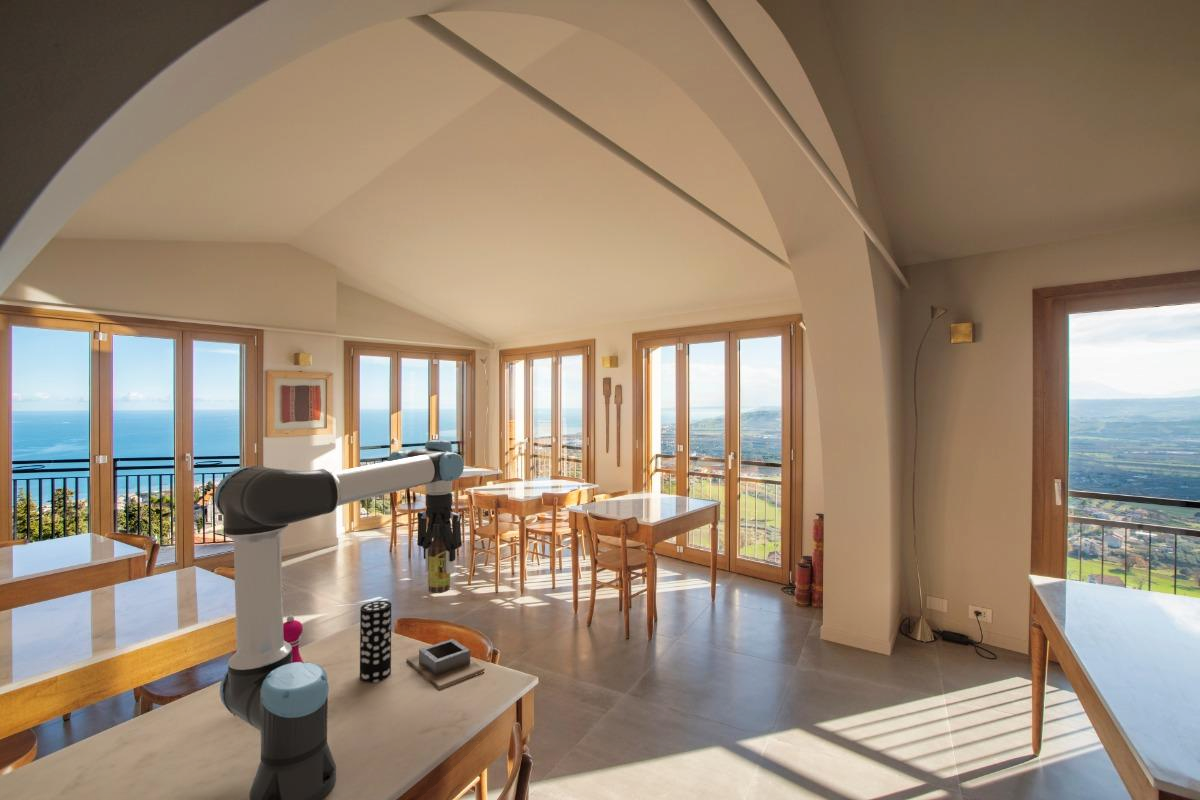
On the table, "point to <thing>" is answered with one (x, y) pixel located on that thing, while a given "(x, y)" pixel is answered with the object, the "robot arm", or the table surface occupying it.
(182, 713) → the table surface
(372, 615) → the spotted tube
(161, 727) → the table surface
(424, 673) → the caddy board
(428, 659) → the bottle socket
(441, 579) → the sauce bottle
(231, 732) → the table surface
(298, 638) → the pepper mill
